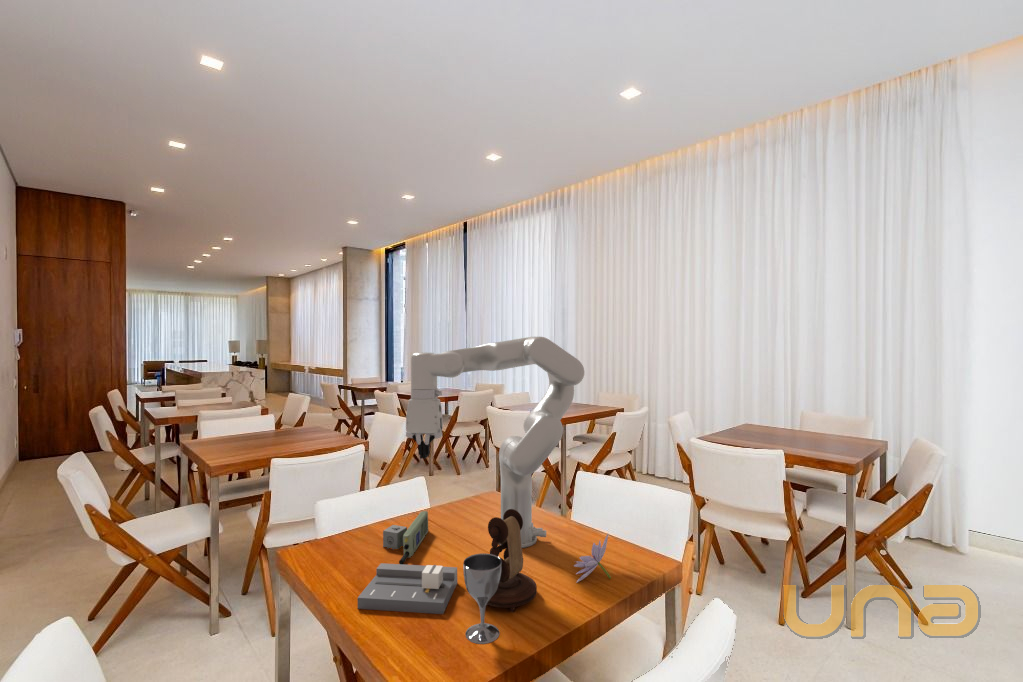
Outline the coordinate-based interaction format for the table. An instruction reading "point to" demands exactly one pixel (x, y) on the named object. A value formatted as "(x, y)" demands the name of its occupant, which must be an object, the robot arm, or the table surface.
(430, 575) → the fader knob
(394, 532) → the dice cube
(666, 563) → the table surface
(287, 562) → the table surface
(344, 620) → the table surface
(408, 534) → the handheld radio
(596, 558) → the water lily
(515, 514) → the scroll
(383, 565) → the console
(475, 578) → the wine glass
